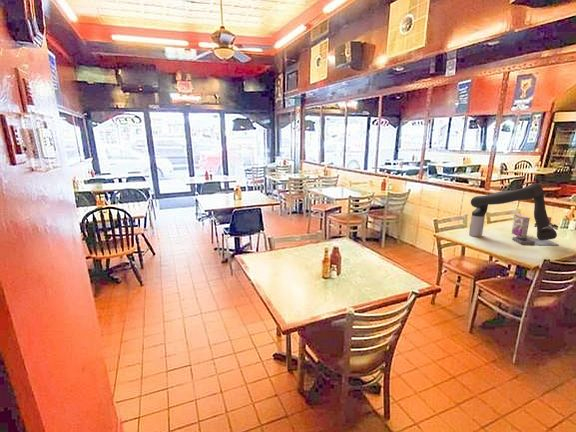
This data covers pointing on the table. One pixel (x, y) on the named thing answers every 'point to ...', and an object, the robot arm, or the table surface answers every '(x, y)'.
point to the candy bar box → (520, 225)
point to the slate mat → (544, 242)
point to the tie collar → (518, 239)
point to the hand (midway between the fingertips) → (545, 223)
